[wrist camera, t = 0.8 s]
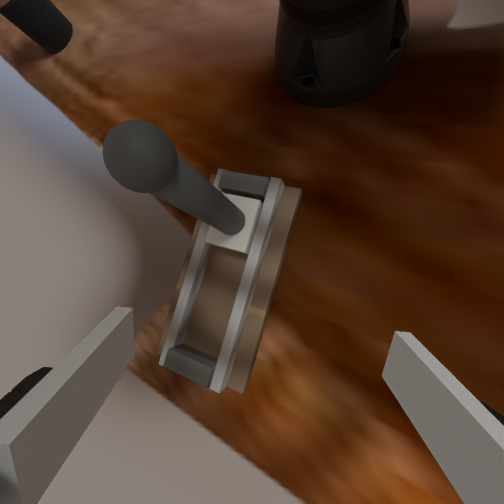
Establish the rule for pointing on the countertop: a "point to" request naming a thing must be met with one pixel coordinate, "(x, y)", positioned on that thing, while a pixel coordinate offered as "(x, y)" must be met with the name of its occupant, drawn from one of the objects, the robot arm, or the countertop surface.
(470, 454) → the robot arm
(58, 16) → the travel mug
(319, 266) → the countertop surface
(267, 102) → the countertop surface
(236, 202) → the slider
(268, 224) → the rail base
